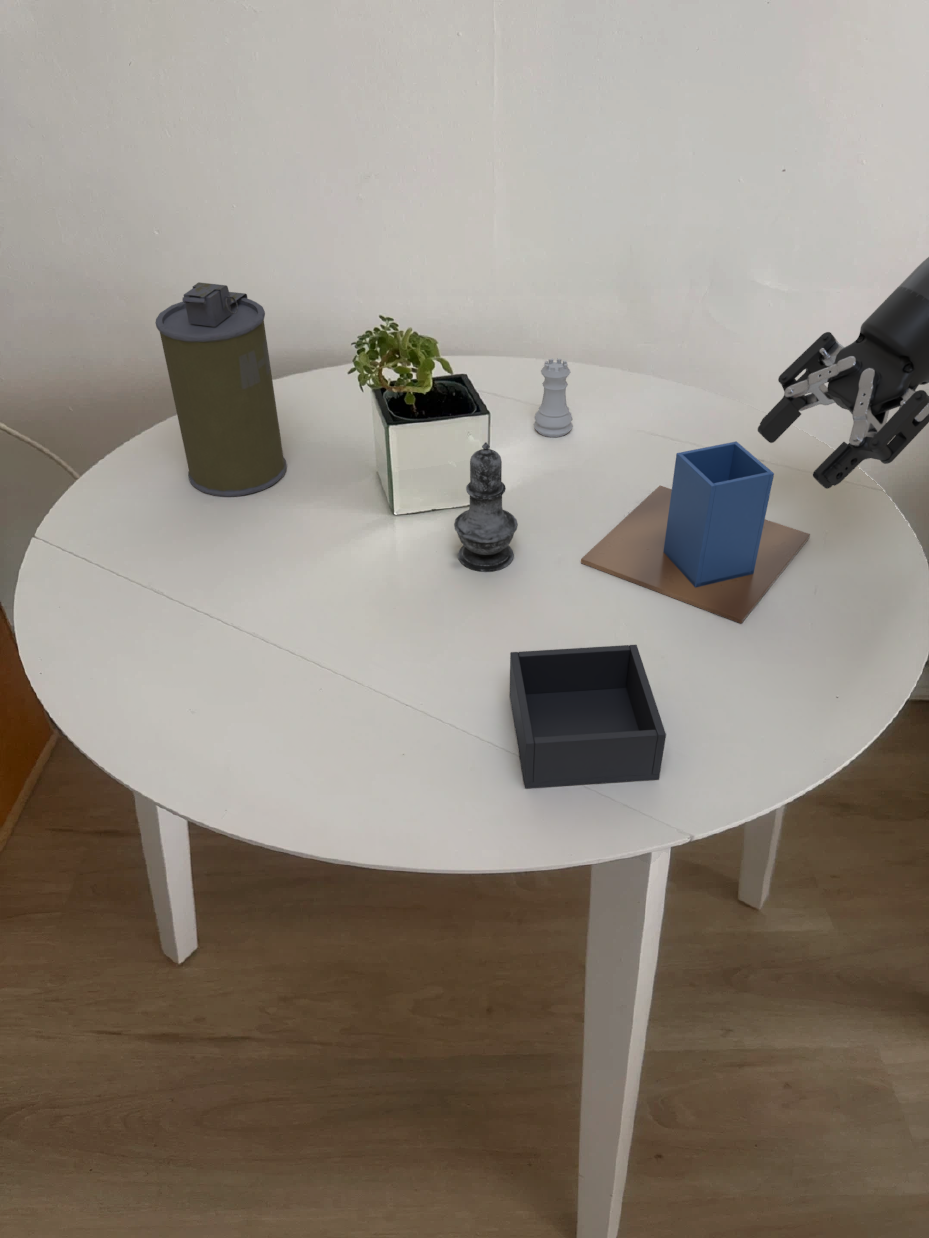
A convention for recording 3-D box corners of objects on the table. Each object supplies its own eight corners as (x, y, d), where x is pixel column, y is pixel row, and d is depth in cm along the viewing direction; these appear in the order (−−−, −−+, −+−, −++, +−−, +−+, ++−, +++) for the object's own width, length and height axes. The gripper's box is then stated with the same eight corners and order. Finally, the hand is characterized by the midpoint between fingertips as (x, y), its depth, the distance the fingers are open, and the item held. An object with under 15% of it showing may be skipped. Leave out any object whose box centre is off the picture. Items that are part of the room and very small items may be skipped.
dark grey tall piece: (446, 567, 93) (443, 454, 85) (465, 534, 97) (463, 423, 90) (507, 578, 91) (509, 463, 84) (523, 543, 96) (526, 431, 88)
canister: (259, 503, 102) (227, 314, 90) (170, 488, 105) (127, 302, 92) (304, 453, 110) (281, 273, 98) (220, 440, 113) (187, 263, 100)
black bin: (631, 688, 80) (636, 644, 77) (659, 779, 72) (666, 734, 69) (509, 695, 79) (510, 651, 76) (524, 788, 71) (526, 743, 69)
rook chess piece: (579, 425, 114) (583, 360, 109) (561, 442, 111) (564, 375, 106) (545, 416, 116) (547, 351, 111) (526, 432, 113) (528, 366, 108)
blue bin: (719, 539, 95) (736, 441, 88) (753, 574, 90) (774, 473, 84) (663, 551, 93) (676, 453, 87) (695, 587, 89) (711, 486, 82)
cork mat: (809, 538, 96) (810, 533, 95) (741, 624, 86) (742, 619, 85) (659, 489, 103) (659, 485, 103) (580, 563, 93) (580, 558, 93)
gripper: (861, 259, 86) (725, 402, 91) (978, 319, 76) (819, 477, 80) (896, 310, 91) (766, 444, 95) (1011, 373, 81) (859, 520, 85)
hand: (790, 459), depth 88 cm, fingers open, 8 cm apart
